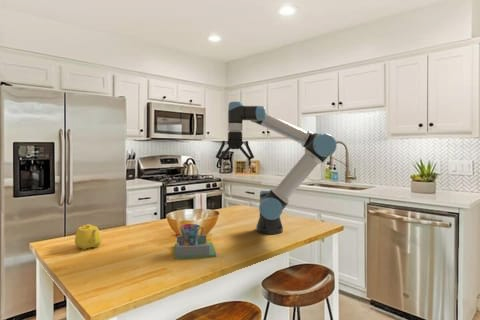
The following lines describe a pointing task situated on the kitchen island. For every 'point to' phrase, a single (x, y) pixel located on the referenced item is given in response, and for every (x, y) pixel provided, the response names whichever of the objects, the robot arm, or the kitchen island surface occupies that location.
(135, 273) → the kitchen island surface
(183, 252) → the grey stepped block
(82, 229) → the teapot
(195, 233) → the mug
